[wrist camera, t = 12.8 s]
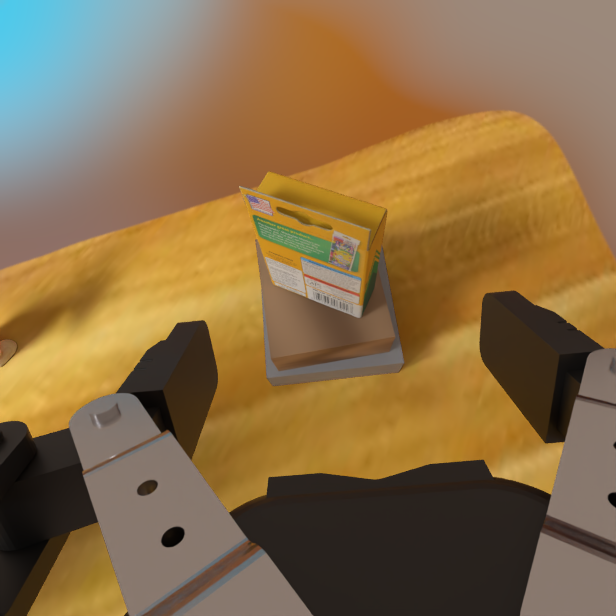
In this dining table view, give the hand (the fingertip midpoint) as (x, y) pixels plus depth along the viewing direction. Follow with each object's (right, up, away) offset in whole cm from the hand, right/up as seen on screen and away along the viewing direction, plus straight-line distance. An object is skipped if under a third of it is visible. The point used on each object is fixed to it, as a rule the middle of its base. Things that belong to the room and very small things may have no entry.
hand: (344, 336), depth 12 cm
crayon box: (0, +2, +19) cm, 19 cm away
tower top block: (0, +1, +23) cm, 23 cm away
